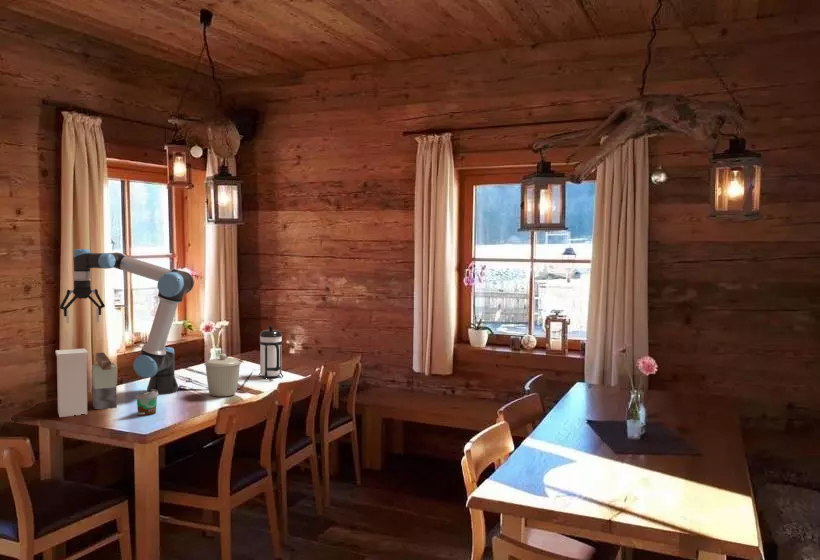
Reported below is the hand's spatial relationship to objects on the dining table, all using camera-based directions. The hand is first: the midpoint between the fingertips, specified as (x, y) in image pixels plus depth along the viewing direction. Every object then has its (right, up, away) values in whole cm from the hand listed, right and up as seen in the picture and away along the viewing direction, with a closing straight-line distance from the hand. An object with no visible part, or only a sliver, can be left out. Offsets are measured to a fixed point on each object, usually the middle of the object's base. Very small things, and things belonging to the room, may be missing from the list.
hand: (82, 322), depth 332 cm
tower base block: (+20, -38, -20) cm, 48 cm away
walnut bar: (+19, -19, -19) cm, 33 cm away
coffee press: (+84, -35, +52) cm, 105 cm away
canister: (+68, -38, +7) cm, 78 cm away
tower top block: (+20, -29, -21) cm, 41 cm away
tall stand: (+12, -39, -33) cm, 52 cm away
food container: (+46, -40, -32) cm, 69 cm away
